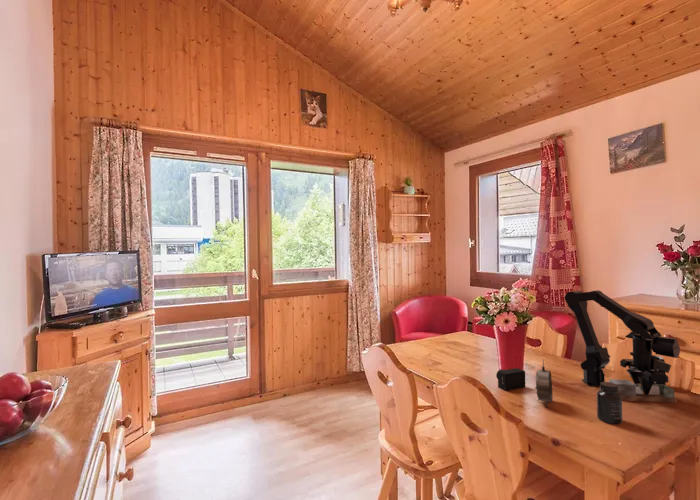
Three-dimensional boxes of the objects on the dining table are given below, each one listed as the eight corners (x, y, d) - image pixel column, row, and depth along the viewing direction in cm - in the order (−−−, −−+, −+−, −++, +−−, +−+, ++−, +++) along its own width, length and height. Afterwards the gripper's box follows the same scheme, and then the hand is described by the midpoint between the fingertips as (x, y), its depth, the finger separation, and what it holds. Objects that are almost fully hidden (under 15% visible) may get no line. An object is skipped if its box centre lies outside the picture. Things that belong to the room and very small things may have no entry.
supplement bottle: (592, 416, 121) (591, 380, 121) (610, 415, 121) (609, 379, 121) (608, 426, 114) (607, 388, 114) (628, 424, 115) (627, 387, 115)
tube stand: (616, 399, 133) (615, 384, 133) (607, 393, 139) (606, 378, 139) (676, 402, 130) (676, 386, 130) (665, 395, 136) (664, 380, 136)
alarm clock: (551, 410, 126) (550, 364, 126) (534, 406, 129) (533, 362, 129) (553, 398, 135) (552, 356, 135) (537, 396, 138) (536, 354, 138)
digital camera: (515, 383, 152) (515, 366, 152) (525, 387, 147) (525, 370, 147) (495, 386, 149) (495, 369, 149) (505, 391, 144) (505, 374, 144)
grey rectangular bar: (620, 393, 134) (620, 385, 134) (615, 390, 137) (615, 382, 137) (659, 395, 132) (659, 387, 132) (653, 391, 135) (653, 383, 135)
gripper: (685, 359, 124) (686, 404, 124) (649, 345, 142) (650, 384, 142) (649, 358, 126) (650, 402, 126) (618, 344, 144) (619, 383, 144)
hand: (643, 392), depth 134 cm, fingers closed on grey rectangular bar, 3 cm apart
